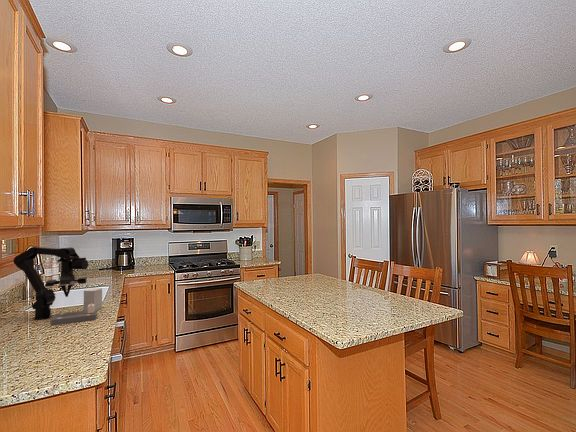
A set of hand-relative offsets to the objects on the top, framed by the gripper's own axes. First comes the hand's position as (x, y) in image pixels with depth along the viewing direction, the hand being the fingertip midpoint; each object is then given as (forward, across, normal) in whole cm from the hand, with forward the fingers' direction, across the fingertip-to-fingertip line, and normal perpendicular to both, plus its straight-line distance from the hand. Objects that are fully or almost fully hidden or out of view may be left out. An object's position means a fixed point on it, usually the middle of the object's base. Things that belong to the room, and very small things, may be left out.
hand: (66, 296), depth 177 cm
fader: (+9, +12, -7) cm, 17 cm away
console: (+12, +5, -7) cm, 15 cm away
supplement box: (+12, +12, +13) cm, 21 cm away
